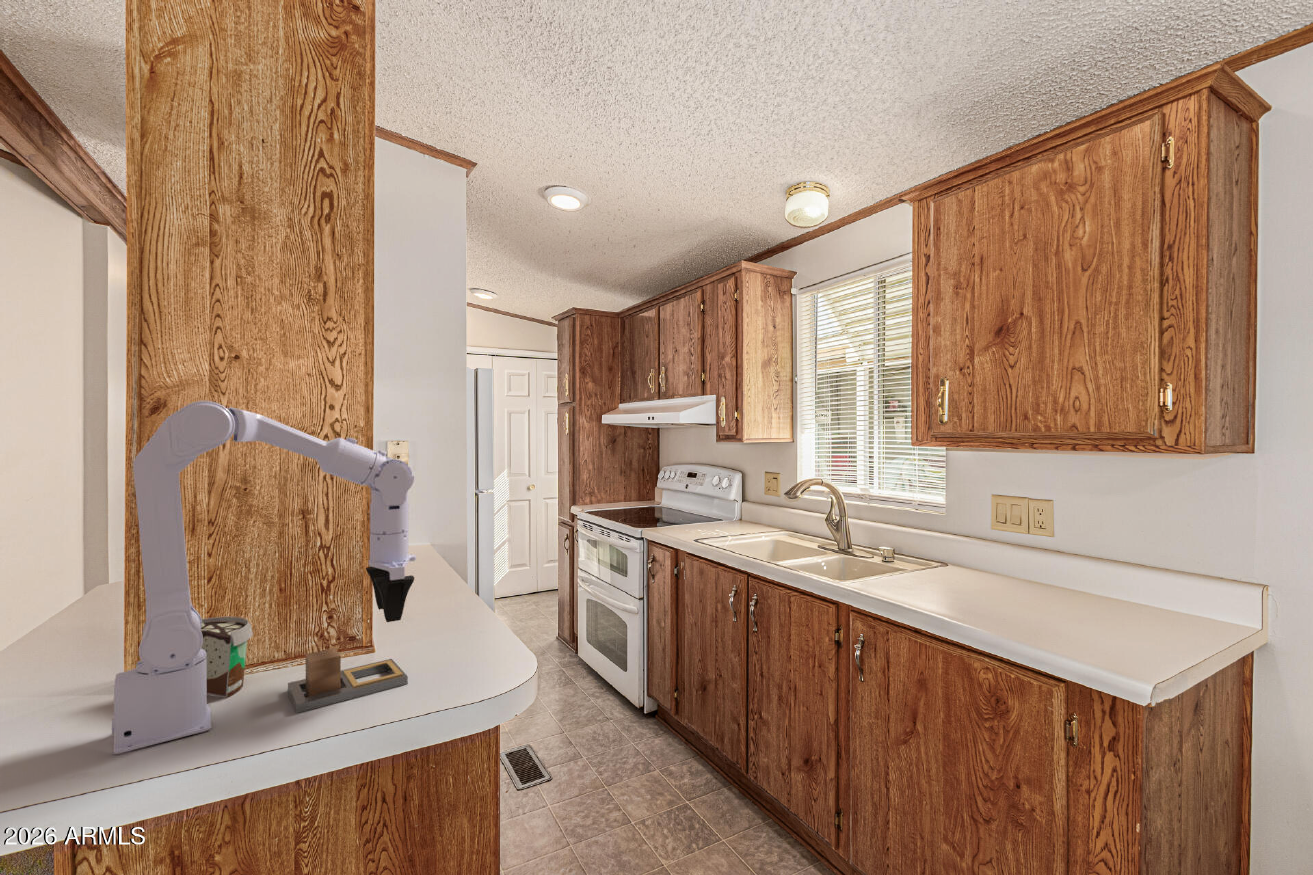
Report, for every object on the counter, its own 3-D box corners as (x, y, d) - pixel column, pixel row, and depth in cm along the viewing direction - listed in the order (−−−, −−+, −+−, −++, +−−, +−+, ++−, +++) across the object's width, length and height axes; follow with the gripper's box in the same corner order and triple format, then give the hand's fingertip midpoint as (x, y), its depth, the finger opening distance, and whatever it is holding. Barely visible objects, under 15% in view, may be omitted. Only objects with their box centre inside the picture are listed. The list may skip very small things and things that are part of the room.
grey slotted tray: (296, 713, 81) (296, 703, 81) (287, 690, 88) (287, 681, 88) (407, 683, 91) (407, 674, 91) (391, 665, 97) (391, 657, 97)
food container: (272, 682, 91) (272, 619, 91) (234, 699, 85) (234, 632, 85) (213, 672, 94) (213, 612, 94) (173, 688, 88) (173, 624, 88)
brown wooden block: (310, 702, 84) (310, 662, 84) (305, 693, 87) (305, 654, 87) (340, 694, 87) (340, 655, 87) (335, 685, 90) (335, 647, 90)
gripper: (425, 536, 90) (424, 621, 90) (406, 523, 102) (406, 599, 102) (376, 540, 86) (375, 630, 86) (362, 526, 98) (362, 605, 98)
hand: (389, 614), depth 94 cm, fingers open, 7 cm apart
